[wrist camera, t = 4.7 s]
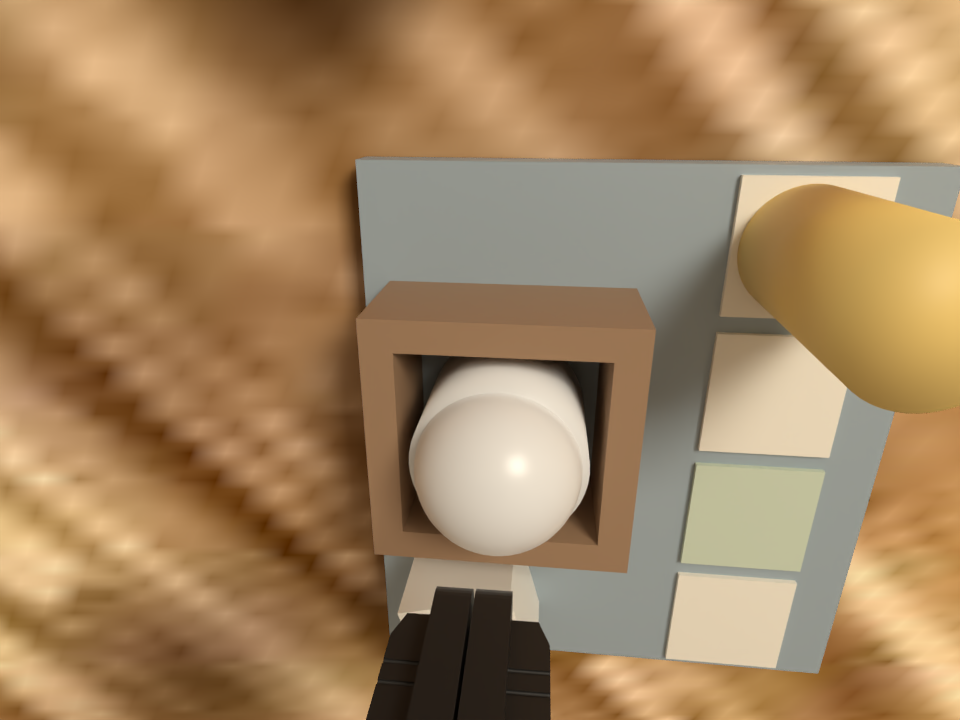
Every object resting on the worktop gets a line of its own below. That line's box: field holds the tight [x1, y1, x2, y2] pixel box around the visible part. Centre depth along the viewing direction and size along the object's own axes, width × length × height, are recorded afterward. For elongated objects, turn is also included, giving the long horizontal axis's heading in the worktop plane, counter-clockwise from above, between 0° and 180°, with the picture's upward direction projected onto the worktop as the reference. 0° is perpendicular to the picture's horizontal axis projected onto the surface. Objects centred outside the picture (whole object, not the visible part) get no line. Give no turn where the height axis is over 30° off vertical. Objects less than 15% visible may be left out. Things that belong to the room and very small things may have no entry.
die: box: [397, 557, 539, 622], centre depth 23 cm, size 4×4×4 cm
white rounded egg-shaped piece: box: [409, 356, 590, 556], centre depth 18 cm, size 5×5×6 cm
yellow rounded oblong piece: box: [737, 184, 960, 414], centre depth 16 cm, size 4×4×7 cm
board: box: [356, 157, 960, 673], centre depth 21 cm, size 20×18×5 cm
